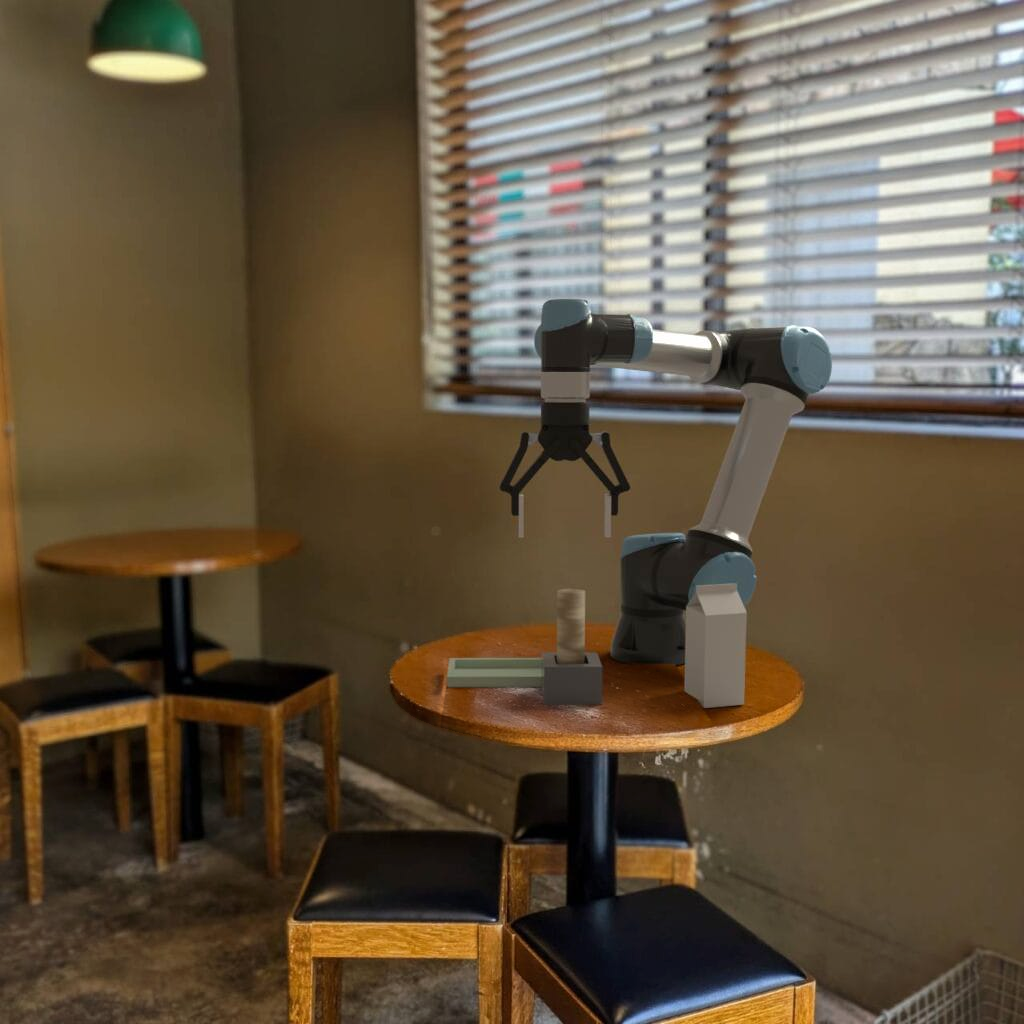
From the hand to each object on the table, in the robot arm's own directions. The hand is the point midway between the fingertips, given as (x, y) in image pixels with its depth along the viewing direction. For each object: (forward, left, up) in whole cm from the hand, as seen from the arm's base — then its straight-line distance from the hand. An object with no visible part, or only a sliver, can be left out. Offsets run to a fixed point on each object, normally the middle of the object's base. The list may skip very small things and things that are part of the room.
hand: (564, 536), depth 173 cm
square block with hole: (-1, +1, -27) cm, 27 cm away
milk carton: (-24, 0, -27) cm, 36 cm away
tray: (+10, -11, -27) cm, 30 cm away
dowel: (-1, +1, -26) cm, 26 cm away
